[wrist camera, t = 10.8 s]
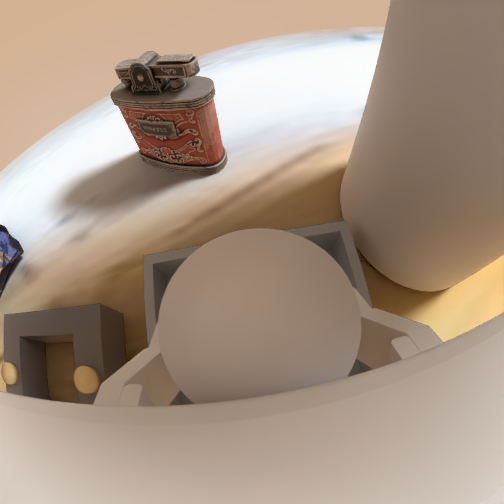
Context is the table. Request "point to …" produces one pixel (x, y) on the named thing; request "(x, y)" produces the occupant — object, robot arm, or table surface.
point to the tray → (324, 235)
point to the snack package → (7, 253)
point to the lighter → (171, 113)
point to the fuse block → (63, 330)
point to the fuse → (257, 317)
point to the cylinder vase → (431, 146)
